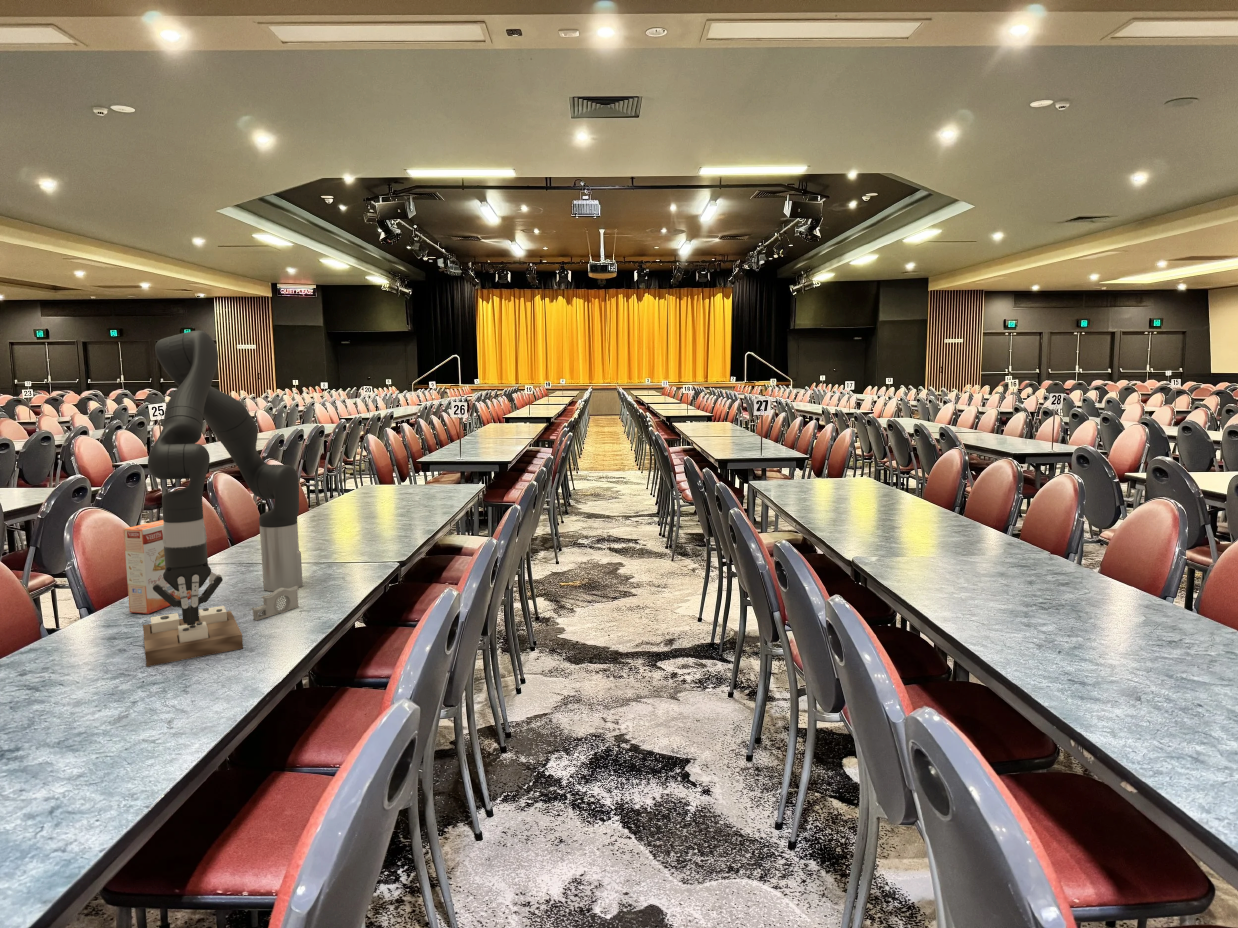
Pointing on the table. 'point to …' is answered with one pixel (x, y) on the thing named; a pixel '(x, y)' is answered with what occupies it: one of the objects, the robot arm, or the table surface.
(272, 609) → the lattice window wall
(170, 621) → the key one dot
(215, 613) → the key two dots
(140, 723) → the table surface
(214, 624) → the key panel
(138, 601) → the cracker box
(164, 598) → the robot arm
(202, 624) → the key three dots
